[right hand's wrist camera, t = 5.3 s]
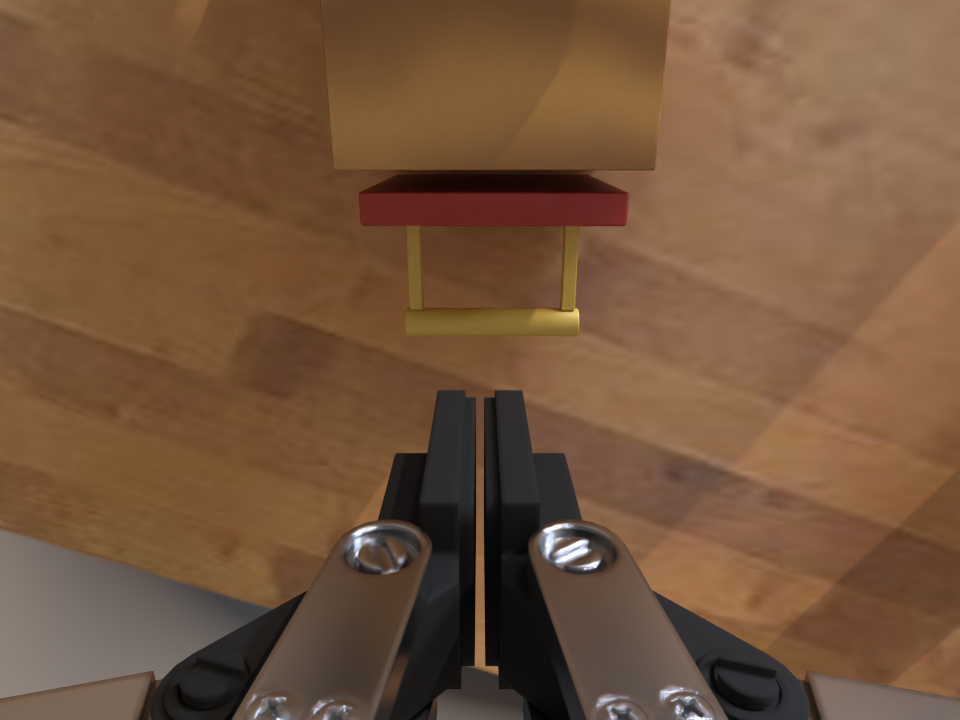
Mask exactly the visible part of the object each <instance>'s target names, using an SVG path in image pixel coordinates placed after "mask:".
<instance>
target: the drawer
mask: <svg viewBox="0 0 960 720" xmlns="http://www.w3.org/2000/svg"><path fill="white" fill-rule="evenodd" d="M628 199H629V194H628V193H627V192H625V191H623V190H620V189H618V188H616V187H614V186H611V185H609V184H607V183H605V182H602V181H600V180H598V179H596V178H593V177H591V176H589V175H395V176H393V177H391V178H389V179H387V180H385V181H383V182H381V183H379V184H377V185H374V186H372V187H370V188H368V189H366V190H364V191H362V192H360V193H359V205H360V220H361V225H363V226H406V238H407V262H408V286H409V308H406V311H405V332H406V335H408V336H577V335H578V332H579V311H578V309H576V308H575V295H576V277H577V259H578V241H579V226H625V225H626V223H627V211H628ZM421 226H564V234H563V255H562V276H561V297H560V307H561V308H423V306H424V297H423V267H422V237H421Z"/></svg>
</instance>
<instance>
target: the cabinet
mask: <svg viewBox="0 0 960 720" xmlns="http://www.w3.org/2000/svg"><path fill="white" fill-rule="evenodd" d="M320 3H321V16H322V28H323V41H324V53H325V66H326V78H327V90H328V103H329V115H330V128H331V140H332V153H333V165H334V170H655V163H656V153H657V142H658V132H659V121H660V111H661V100H662V90H663V79H664V69H665V58H666V48H667V37H668V27H669V17H670V6H671V0H320Z"/></svg>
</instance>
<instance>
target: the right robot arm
mask: <svg viewBox="0 0 960 720" xmlns="http://www.w3.org/2000/svg"><path fill="white" fill-rule="evenodd" d="M475 575H476V398H465V390H438V392H437V398H436V405H435V411H434V417H433V423H432V429H431V435H430V441H429V447H428V453H397V454H396V455H395V458H394V461H393V465H392V469H391V473H390V477H389V480H388V484H387V488H386V492H385V496H384V499H383V503H382V507H381V511H380V515H379V518H378V521H372V522H367V523H365V524H362V525H359V526H357V527H354V528H353V529H351V530H350V531H348V532H347V533H345V534H344V535H342V537H341V538H340V539H339V540H338V541H337V543H336V544H335V545H334V547H333V549H332V550H331V552H330V554H329V555H328V557H327V559H326V560H325V562H324V564H323V566H322V567H321V569H320V571H319V572H318V574H317V576H316V577H315V579H314V581H313V582H312V584H311V586H310V588H309V589H308V590H307V591H306V592H304V593H302V594H300V595H298V596H297V597H295V598H293V599H291V600H289V601H288V602H286V603H284V604H282V605H280V606H279V607H277V608H275V609H273V610H271V611H270V612H268V613H266V614H264V615H262V616H261V617H259V618H257V619H255V620H253V621H252V622H250V623H248V624H246V625H244V626H243V627H241V628H239V629H237V630H235V631H234V632H232V633H230V634H228V635H226V636H224V637H223V638H221V639H219V640H217V641H215V642H214V643H212V644H210V645H208V646H206V647H205V648H203V649H201V650H199V651H197V652H196V653H194V654H192V655H191V656H189V657H188V658H186V659H185V660H183V661H182V662H180V663H179V664H177V665H176V666H175V667H174V668H173V669H172V670H171V671H170V672H169V673H168V674H167V675H166V676H165V677H164V678H163V679H162V680H155V676H154V672H153V671H150V672H144V673H139V674H134V675H128V676H123V677H117V678H112V679H106V680H101V681H95V682H90V683H84V684H79V685H73V686H68V687H62V688H57V689H51V690H46V691H41V692H35V693H29V694H24V695H18V696H13V697H7V698H2V699H0V720H436V717H437V697H438V696H439V695H440V694H441V693H442V692H444V691H445V690H446V689H461V670H462V666H475ZM484 575H485V666H498V670H499V689H514V690H515V691H516V692H518V693H519V694H520V695H521V696H522V697H523V718H524V720H960V699H958V698H953V697H947V696H942V695H936V694H931V693H925V692H920V691H914V690H909V689H903V688H898V687H892V686H887V685H881V684H876V683H870V682H865V681H859V680H854V679H848V678H843V677H837V676H832V675H826V674H821V673H815V672H810V671H807V672H806V676H805V680H798V679H797V678H796V677H795V676H794V675H793V674H792V673H791V672H790V671H789V670H788V669H787V668H786V667H785V666H784V665H783V664H781V663H780V662H778V661H777V660H775V659H774V658H772V657H771V656H769V655H768V654H766V653H764V652H763V651H761V650H759V649H757V648H755V647H754V646H752V645H750V644H748V643H746V642H745V641H743V640H741V639H739V638H737V637H736V636H734V635H732V634H730V633H728V632H727V631H725V630H723V629H721V628H719V627H718V626H716V625H714V624H712V623H710V622H708V621H707V620H705V619H703V618H701V617H699V616H698V615H696V614H694V613H692V612H690V611H689V610H687V609H685V608H683V607H681V606H680V605H678V604H676V603H674V602H672V601H671V600H669V599H667V598H665V597H663V596H662V595H660V594H658V593H656V592H654V591H653V590H652V589H651V588H650V586H649V584H648V582H647V581H646V579H645V577H644V576H643V574H642V572H641V571H640V569H639V567H638V566H637V564H636V562H635V560H634V559H633V557H632V555H631V554H630V552H629V550H628V549H627V547H626V545H625V544H624V543H623V541H622V540H621V539H620V538H619V537H618V535H616V534H615V533H613V532H612V531H610V530H609V529H607V528H606V527H603V526H601V525H598V524H595V523H593V522H588V521H582V518H581V515H580V511H579V507H578V503H577V499H576V496H575V492H574V488H573V484H572V480H571V477H570V473H569V469H568V465H567V461H566V458H565V455H564V454H563V453H532V447H531V441H530V435H529V429H528V423H527V417H526V411H525V405H524V398H523V392H522V390H495V398H484Z"/></svg>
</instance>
